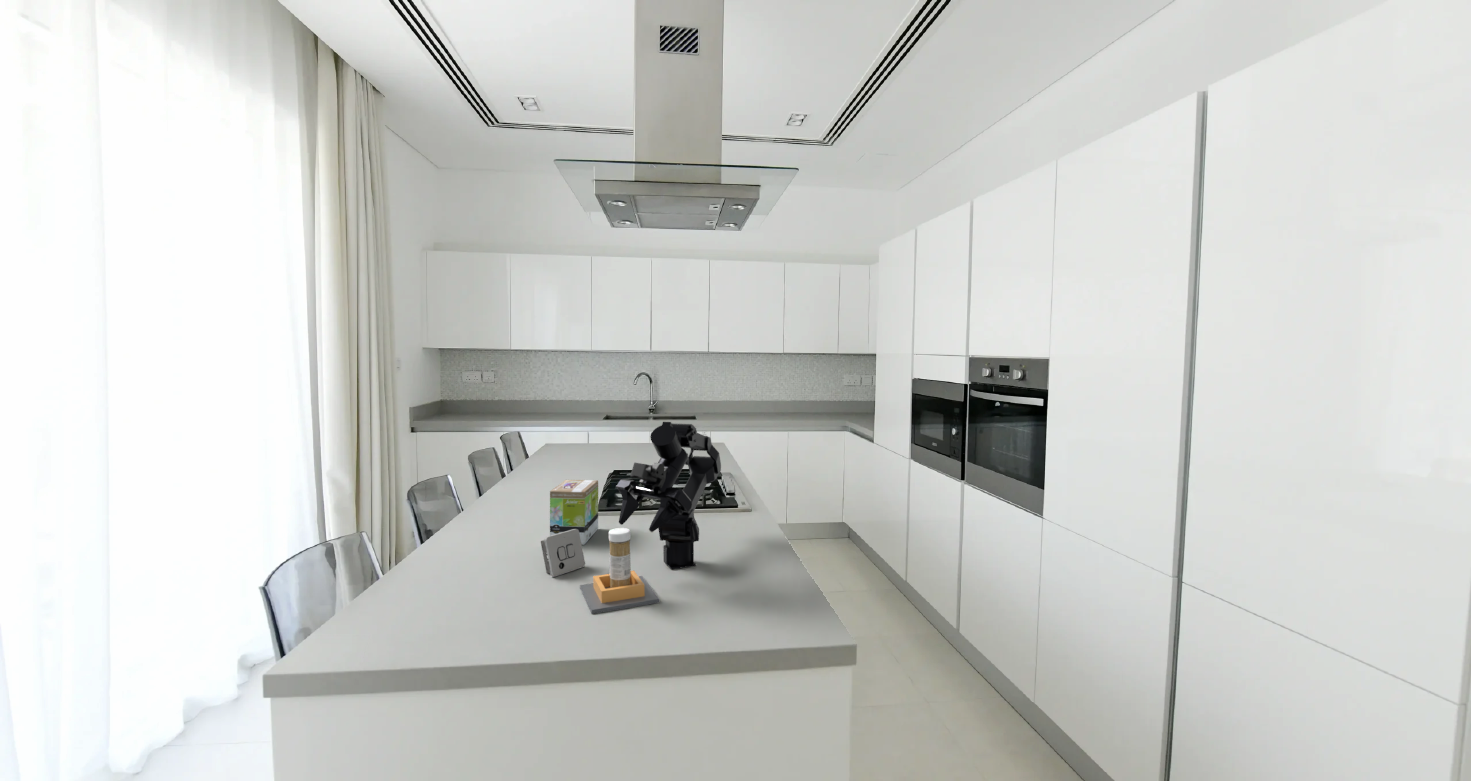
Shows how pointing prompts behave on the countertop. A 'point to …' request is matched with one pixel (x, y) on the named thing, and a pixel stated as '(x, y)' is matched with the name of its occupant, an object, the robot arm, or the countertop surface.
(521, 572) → the countertop surface
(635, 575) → the socket
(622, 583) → the sprinkles bottle
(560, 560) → the electrical switch
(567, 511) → the tea box
